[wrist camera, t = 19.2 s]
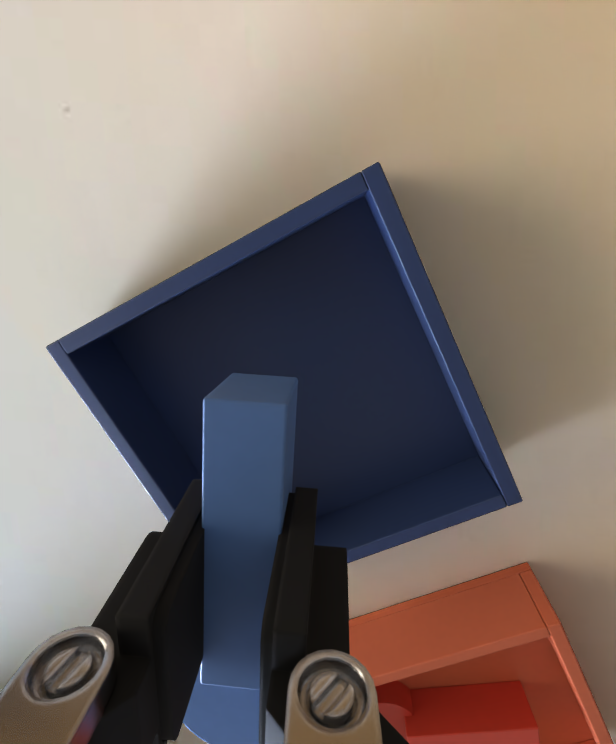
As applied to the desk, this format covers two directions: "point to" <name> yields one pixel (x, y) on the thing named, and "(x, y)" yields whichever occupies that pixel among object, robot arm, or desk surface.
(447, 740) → the red spoon
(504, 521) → the desk surface
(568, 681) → the red bin
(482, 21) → the desk surface
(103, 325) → the blue bin
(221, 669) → the blue spoon
